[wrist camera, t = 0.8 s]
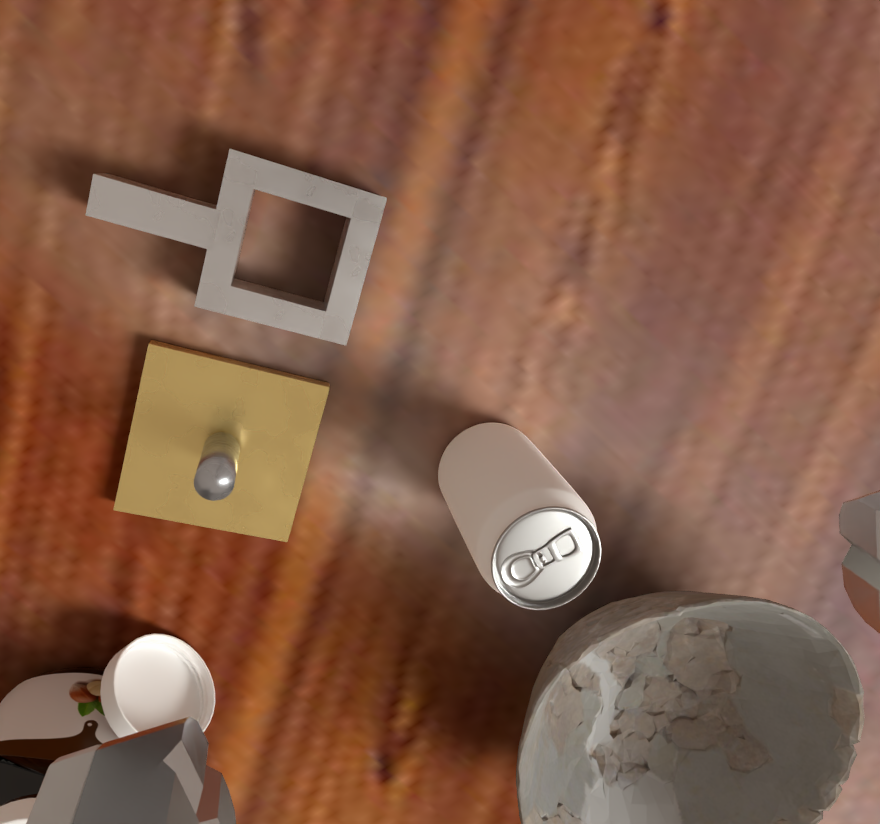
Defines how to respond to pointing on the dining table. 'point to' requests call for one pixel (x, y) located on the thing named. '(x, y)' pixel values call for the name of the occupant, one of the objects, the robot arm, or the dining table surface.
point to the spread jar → (95, 711)
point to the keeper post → (219, 442)
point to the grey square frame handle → (225, 235)
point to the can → (519, 517)
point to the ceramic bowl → (690, 716)
